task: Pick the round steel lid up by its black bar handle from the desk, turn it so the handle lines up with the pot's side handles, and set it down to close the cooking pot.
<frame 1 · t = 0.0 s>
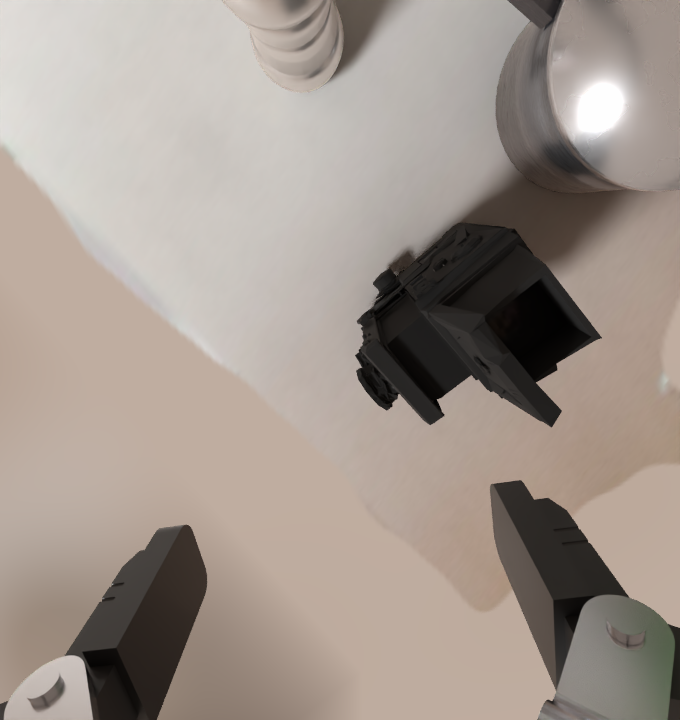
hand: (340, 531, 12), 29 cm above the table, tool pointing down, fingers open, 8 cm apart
camera: (426, 304, 39), on the table
plastic bottle: (302, 51, 33), on the table
pot: (588, 95, 34), on the table
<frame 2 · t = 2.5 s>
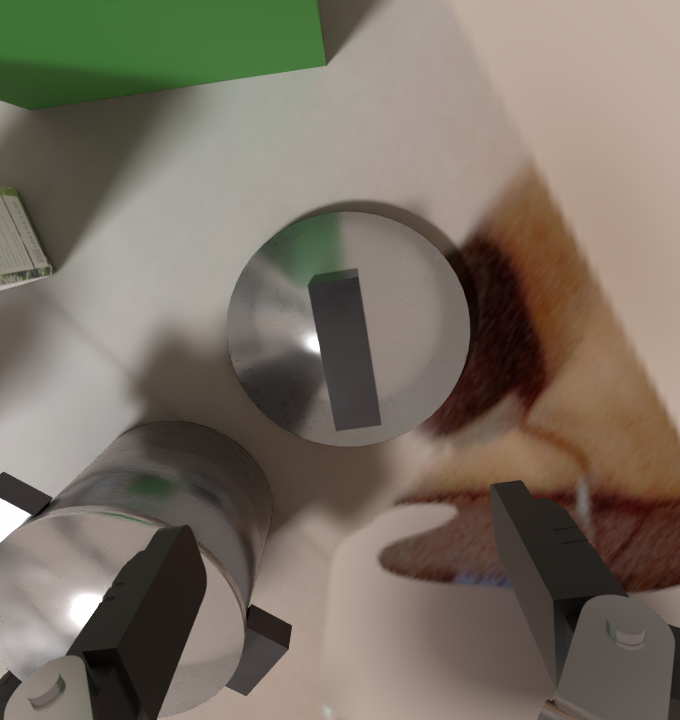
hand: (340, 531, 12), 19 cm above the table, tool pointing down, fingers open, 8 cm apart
hardback book: (160, 13, 24), on the table
lid: (347, 334, 30), on the table
camera: (81, 649, 40), on the table
syrup box: (3, 242, 29), on the table
pot: (183, 501, 34), on the table
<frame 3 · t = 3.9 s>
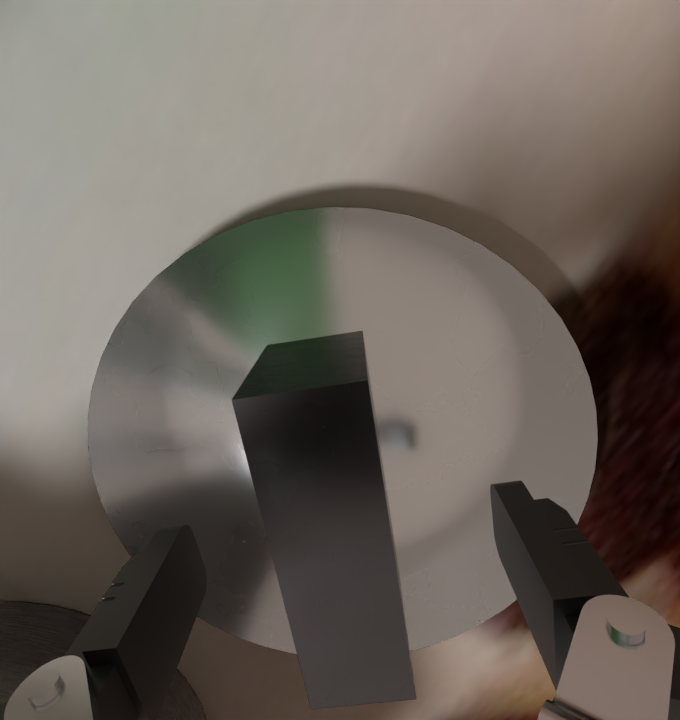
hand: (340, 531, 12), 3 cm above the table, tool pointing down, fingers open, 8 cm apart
lid: (340, 453, 15), on the table
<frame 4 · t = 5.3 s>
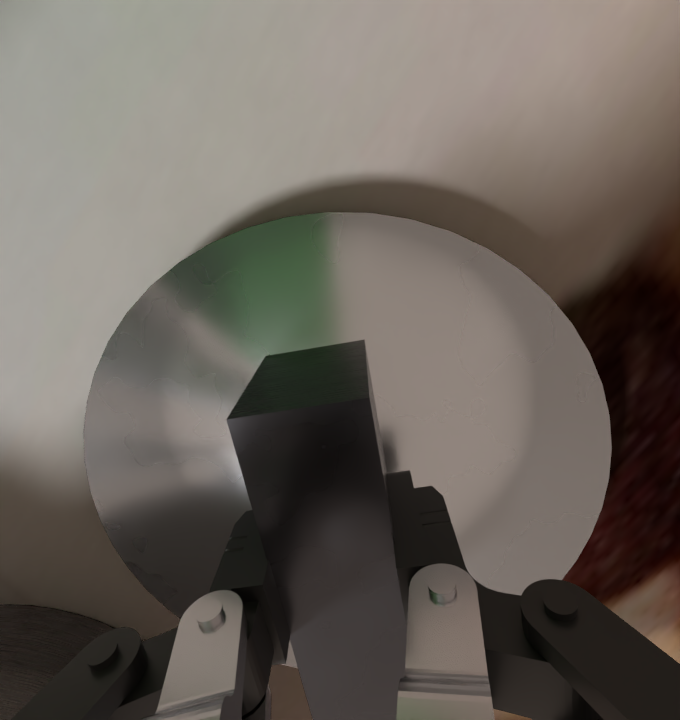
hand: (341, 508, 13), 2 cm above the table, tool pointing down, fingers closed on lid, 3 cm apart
lid: (343, 464, 15), on the table, touching gripper
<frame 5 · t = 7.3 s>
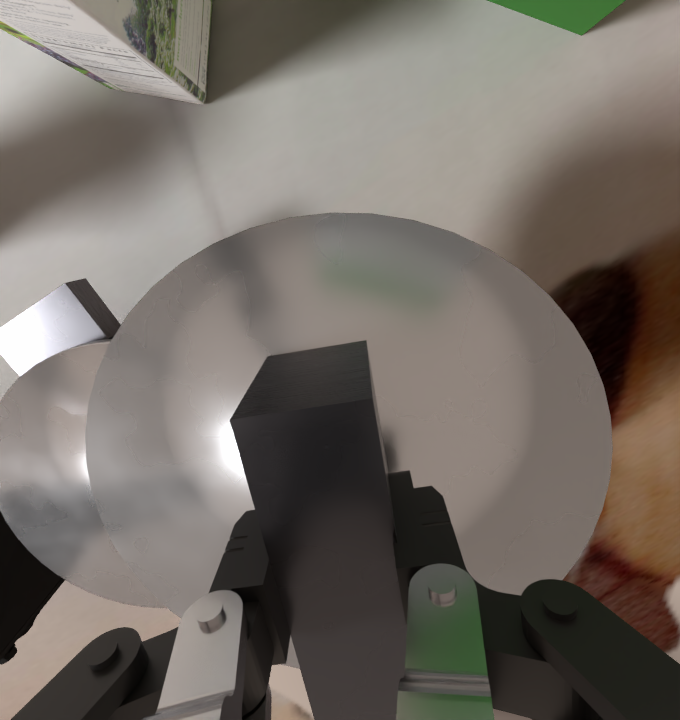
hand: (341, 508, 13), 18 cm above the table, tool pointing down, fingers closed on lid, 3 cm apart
lid: (345, 464, 15), point 16 cm above the table, touching gripper
camera: (13, 512, 35), on the table
syrup box: (164, 44, 25), on the table
pot: (210, 399, 32), on the table
when the fingers open (15 cm above the table, at t = 9.4 s): lid drops 1 cm, resting on pot.
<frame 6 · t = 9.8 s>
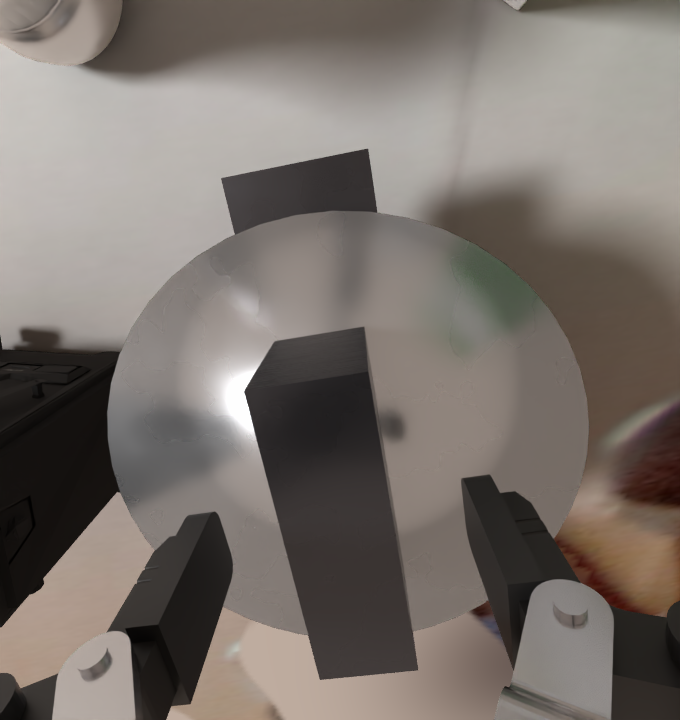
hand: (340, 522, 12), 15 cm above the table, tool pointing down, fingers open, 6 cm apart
lid: (344, 443, 16), point 11 cm above the table, touching pot
camera: (43, 402, 28), on the table
plastic bottle: (75, 1, 21), on the table
pot: (347, 353, 26), on the table
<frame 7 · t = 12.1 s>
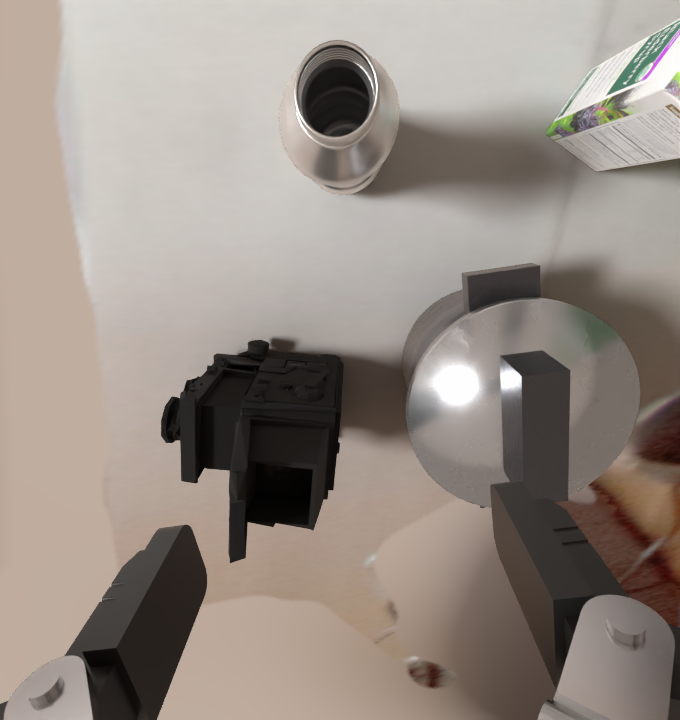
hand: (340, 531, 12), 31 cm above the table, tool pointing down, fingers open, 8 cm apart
lid: (516, 406, 32), point 11 cm above the table, touching pot
camera: (274, 385, 44), on the table
syrup box: (592, 123, 36), on the table
plastic bottle: (344, 154, 37), on the table
pot: (475, 359, 42), on the table
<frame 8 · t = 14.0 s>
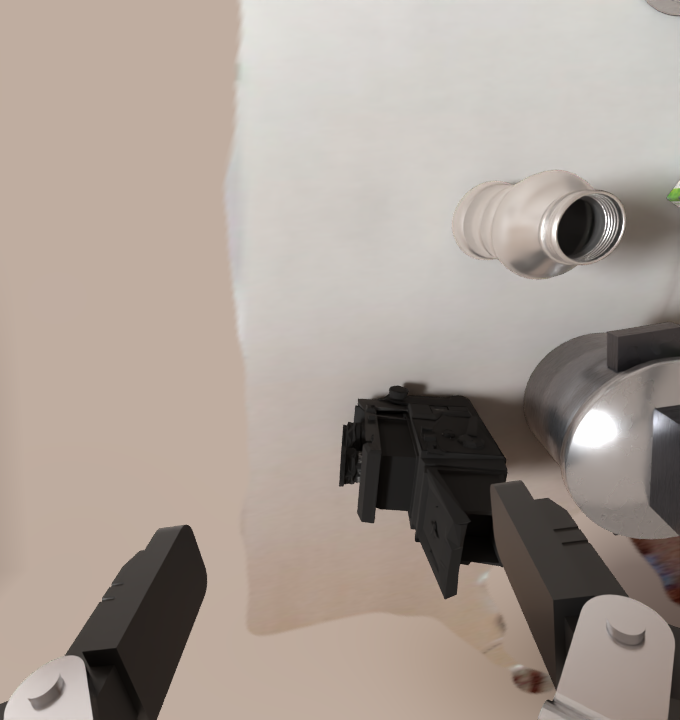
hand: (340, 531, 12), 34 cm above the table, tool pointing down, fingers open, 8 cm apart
lid: (660, 449, 36), point 11 cm above the table, touching pot
camera: (404, 423, 48), on the table
plastic bottle: (480, 221, 42), on the table
pot: (590, 396, 47), on the table
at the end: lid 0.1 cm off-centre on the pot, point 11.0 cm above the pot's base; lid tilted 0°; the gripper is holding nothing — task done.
